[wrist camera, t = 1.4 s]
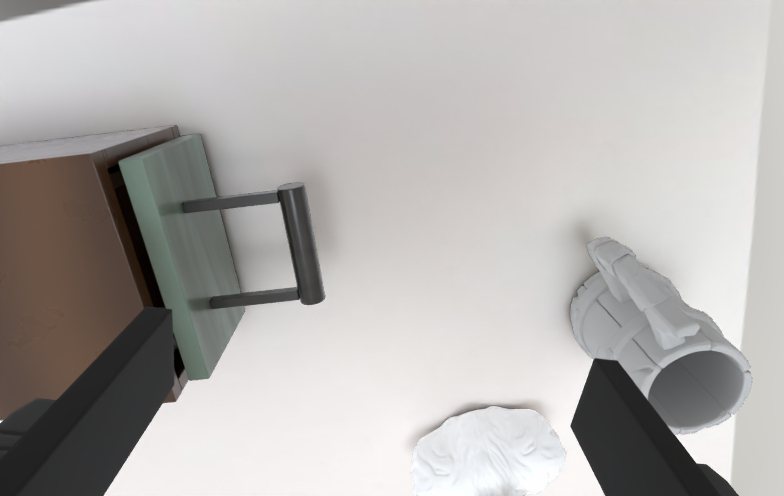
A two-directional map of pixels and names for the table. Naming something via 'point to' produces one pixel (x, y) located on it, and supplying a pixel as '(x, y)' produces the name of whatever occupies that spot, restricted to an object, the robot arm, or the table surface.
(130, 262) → the cabinet
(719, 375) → the mug
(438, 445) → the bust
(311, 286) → the drawer
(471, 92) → the table surface
